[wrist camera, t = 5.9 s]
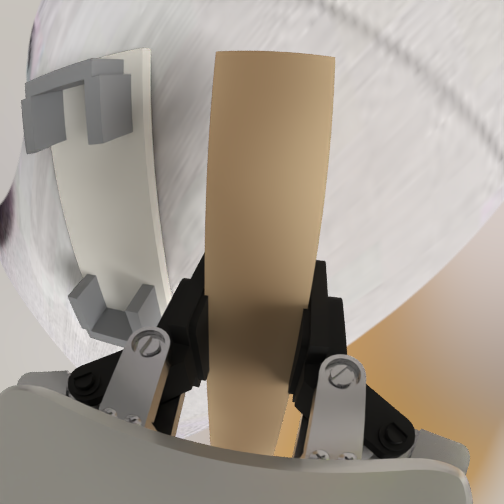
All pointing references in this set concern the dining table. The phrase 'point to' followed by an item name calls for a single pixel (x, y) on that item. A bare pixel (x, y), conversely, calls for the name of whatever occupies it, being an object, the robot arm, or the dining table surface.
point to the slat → (261, 232)
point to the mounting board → (105, 187)
